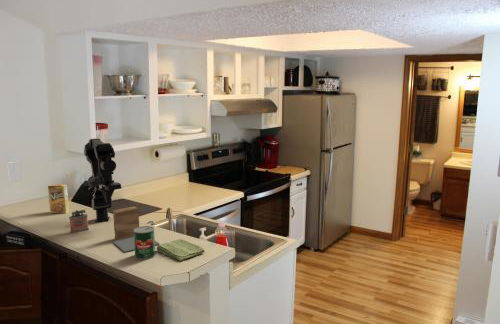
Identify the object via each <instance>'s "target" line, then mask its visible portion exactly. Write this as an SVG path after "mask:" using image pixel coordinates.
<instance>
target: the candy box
mask: <svg viewBox="0 0 500 324" xmlns="http://www.w3.org/2000/svg"><path fill="white" fill-rule="evenodd" d="M47 189H48V191H47V193H48V201H49V212H50V214H67V213H69V212H70V205H69V195H68V194H69V193H68V184H67V183H64V184H61V183H59V184H58V183H55V184H53V183H52V184H48V185H47Z"/></svg>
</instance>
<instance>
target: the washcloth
mask: <svg viewBox="0 0 500 324" xmlns="http://www.w3.org/2000/svg"><path fill="white" fill-rule="evenodd" d="M156 251H157V252H158V253H161V254H163V255H165V256H168V257H170V258H173V259H176V261H177V260H178V261H180V262H183V261H184V260H188V259H189V258H193V257H196V256H199V255H200V254H202V253H205V251H206V250H205V249H204V248H203V247H201V246H200V245H198V244H195V243H192V242H189V241H188V240H186V239H183V238H178V239H175V240H172V241H170V242H163V243H159V245H156Z"/></svg>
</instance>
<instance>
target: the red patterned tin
mask: <svg viewBox="0 0 500 324" xmlns="http://www.w3.org/2000/svg"><path fill="white" fill-rule="evenodd" d="M68 219H69V225H70V227H69V228H70V234H77V233H83V232H87V231H89V226H88V225H89V223H88V214H87V213H86V209H81V210H78V209H77V210H74V211H72V212H71V216H69V217H68Z"/></svg>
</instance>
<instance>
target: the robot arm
mask: <svg viewBox="0 0 500 324" xmlns="http://www.w3.org/2000/svg"><path fill="white" fill-rule="evenodd" d="M114 149H115V148H114V147H113V145H112V144H111V143H110V142H103V141H102V140H101V138H97V137H96V138H90V139H89V140H88V142H87V143H86V144H85V145H84V149H83V154H84V156H85V158H86V161H87V162H88V163H89V164H90V167H91V173H92V178H91V179H88V180H86V183H87V185H88V187H89V188H91V189H94V190H95V191H94V194H93V196H92V200H91V208H92V210H93V211H95V216H96V218H95V220H94V222H95V223H97V222H99V223H101V222H109V220H110V218H111V217H110V216H109V211H108V209H111V208H112V201H113V199H112V197H113V195H114V192H115V190H116V191H117V190H122V184H121V183H120V182H117V181H116V182H115V180H113V175H114V171H116V168H117V163H116V161H114V160H113V159H114V158H115V157H116V153H115V150H114Z"/></svg>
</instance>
